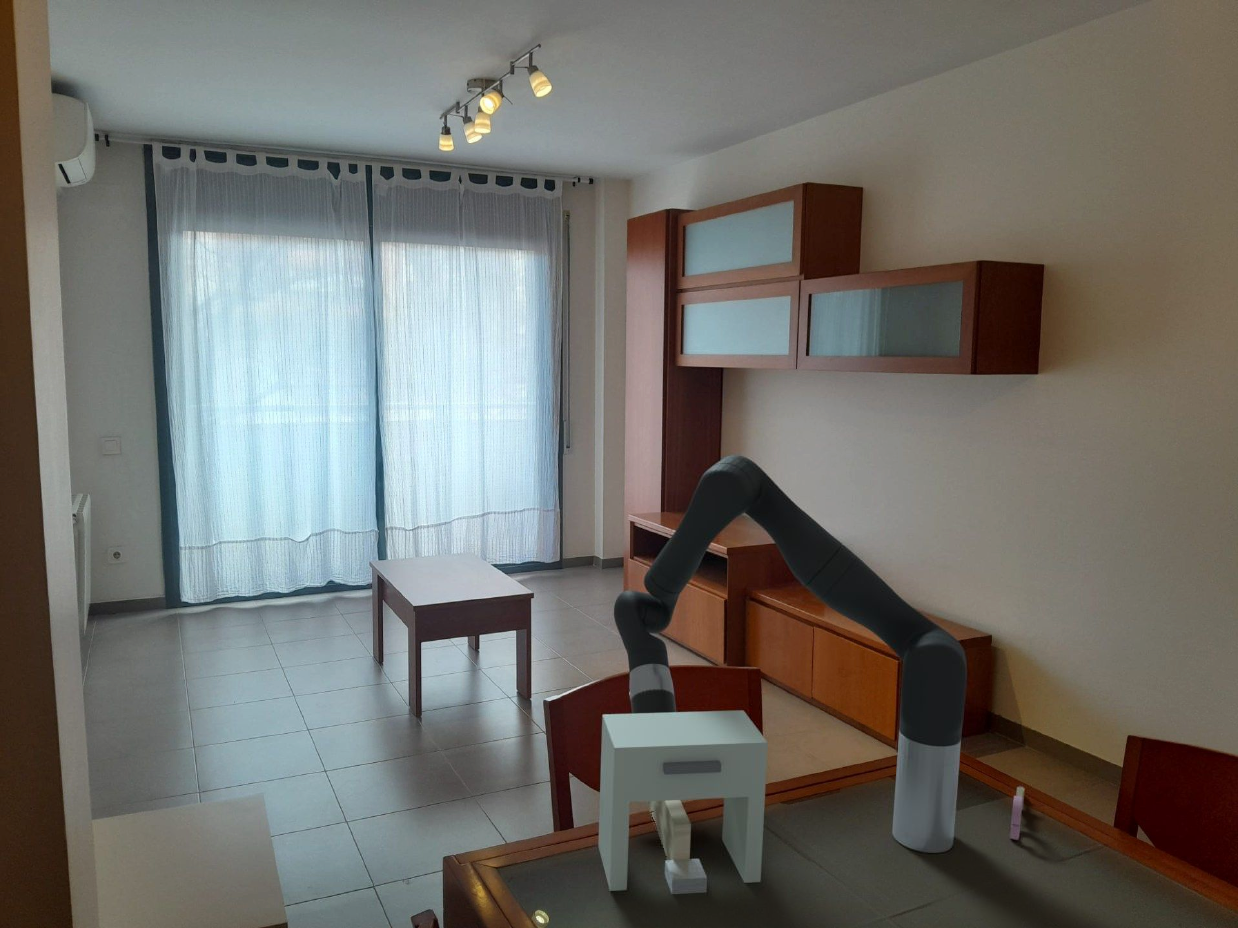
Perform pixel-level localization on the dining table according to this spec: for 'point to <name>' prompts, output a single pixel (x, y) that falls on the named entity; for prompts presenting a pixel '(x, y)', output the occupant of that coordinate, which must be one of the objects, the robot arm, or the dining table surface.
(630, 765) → the desk
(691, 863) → the block
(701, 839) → the dining table surface
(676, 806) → the beech blade
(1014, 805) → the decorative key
